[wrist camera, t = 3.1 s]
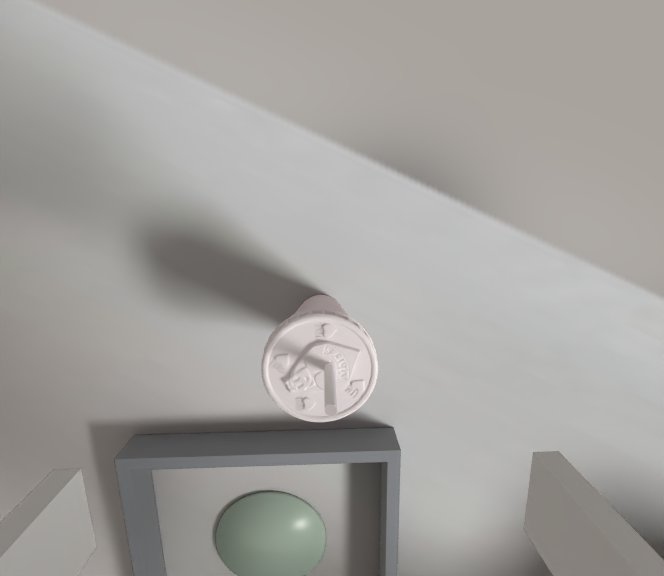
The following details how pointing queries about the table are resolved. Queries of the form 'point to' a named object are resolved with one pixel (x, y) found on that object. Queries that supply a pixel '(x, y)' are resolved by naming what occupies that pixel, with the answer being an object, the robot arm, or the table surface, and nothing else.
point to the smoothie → (319, 362)
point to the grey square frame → (256, 496)
